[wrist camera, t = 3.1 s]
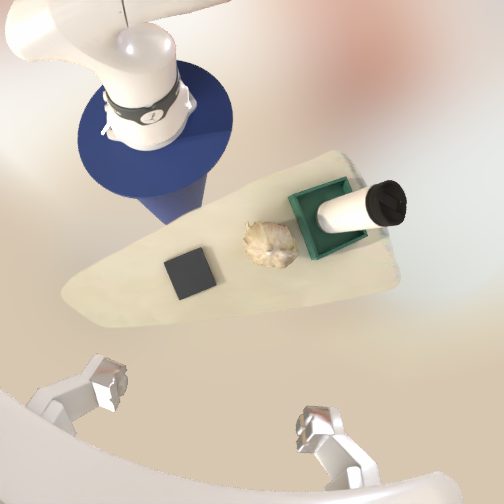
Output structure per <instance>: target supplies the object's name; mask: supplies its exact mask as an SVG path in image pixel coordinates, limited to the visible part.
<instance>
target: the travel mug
mask: <svg viewBox="0 0 504 504" xmlns="http://www.w3.org/2000/svg"><path fill="white" fill-rule="evenodd" d="M406 204H407V200H406V196H405V193H404V191H403V189H402V188H401V186H400V185H399V184H398V183H397V182H395V181H392V180H387V181H384V182H382V183H379V184H374V185H372V186H369V187H366V188H363V189H360V190H357V191H354V192H351V193H349V194H346V195H343V196H340V197H337V198H335V199H332V200H329V201H326V202H324V203H322V204H320V205H319V206H318V208H317V210H316V214H315V219H316V223H317V225H318V227H319V228H320V229H321V230H322V231H323V232H325V233H340V232H348V231H356V230H365V229H373V228H382V227H387V226H395V225H399V224H400V223H402V222H403V221H404V218H405V214H406Z"/></svg>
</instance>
